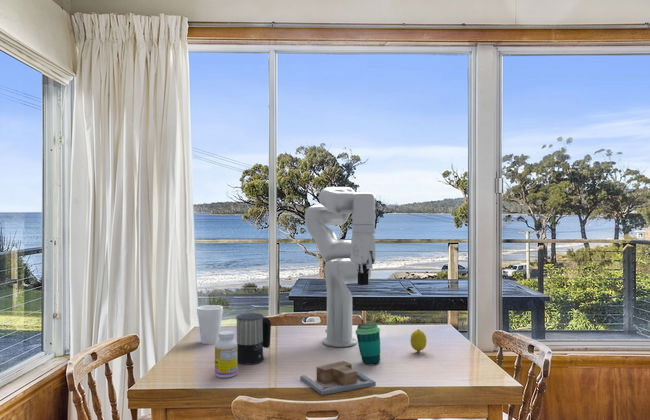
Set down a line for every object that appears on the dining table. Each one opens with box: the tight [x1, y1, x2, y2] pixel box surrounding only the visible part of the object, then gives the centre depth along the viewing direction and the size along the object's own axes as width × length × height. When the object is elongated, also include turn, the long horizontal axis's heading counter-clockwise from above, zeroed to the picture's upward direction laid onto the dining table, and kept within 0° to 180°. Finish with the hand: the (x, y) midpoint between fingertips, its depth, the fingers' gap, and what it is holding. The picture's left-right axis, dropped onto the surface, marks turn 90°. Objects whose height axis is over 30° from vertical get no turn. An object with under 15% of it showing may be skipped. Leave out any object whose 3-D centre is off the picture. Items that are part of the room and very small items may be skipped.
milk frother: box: [235, 312, 272, 365], centre depth 168 cm, size 14×16×15 cm
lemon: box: [409, 328, 427, 353], centre depth 175 cm, size 6×6×8 cm
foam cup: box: [196, 304, 224, 345], centre depth 189 cm, size 10×9×13 cm
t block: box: [316, 360, 358, 386], centre depth 145 cm, size 10×10×4 cm
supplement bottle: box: [214, 330, 238, 379], centre depth 151 cm, size 7×7×13 cm
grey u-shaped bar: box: [299, 368, 377, 396], centre depth 145 cm, size 14×17×1 cm
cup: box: [355, 322, 381, 366], centre depth 164 cm, size 8×8×12 cm
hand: (362, 284), depth 167 cm, fingers closed
